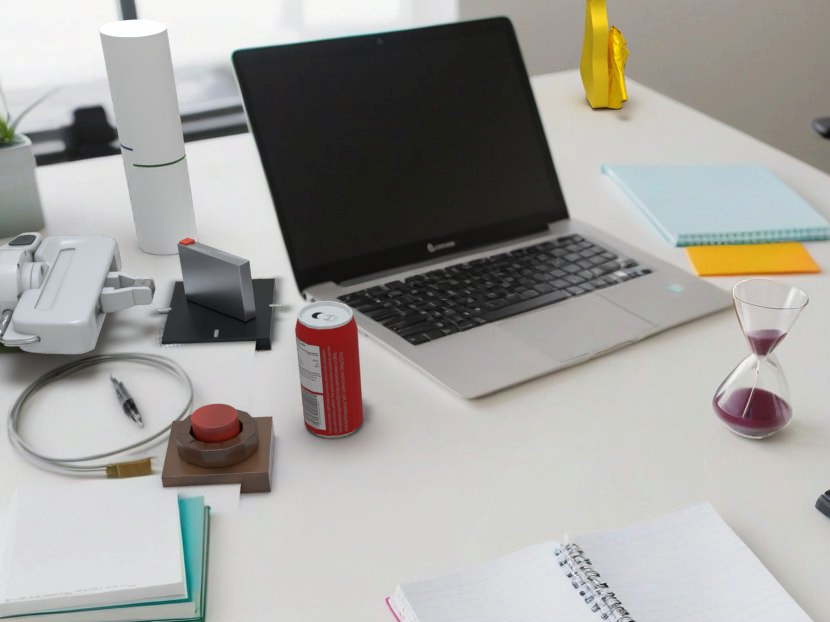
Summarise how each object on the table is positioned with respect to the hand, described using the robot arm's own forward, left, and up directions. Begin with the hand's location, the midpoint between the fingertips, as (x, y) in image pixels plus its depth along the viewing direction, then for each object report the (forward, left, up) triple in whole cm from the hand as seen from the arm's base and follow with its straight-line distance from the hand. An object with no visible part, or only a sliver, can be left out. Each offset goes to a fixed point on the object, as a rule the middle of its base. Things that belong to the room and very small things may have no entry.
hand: (153, 290), depth 119 cm
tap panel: (+6, +4, -6) cm, 9 cm away
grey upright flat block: (+6, +4, -4) cm, 8 cm away
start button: (+8, -24, -2) cm, 26 cm away
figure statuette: (+61, +75, -6) cm, 97 cm away
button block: (+8, -24, -6) cm, 26 cm away
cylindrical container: (-2, +25, -6) cm, 25 cm away
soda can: (+18, -18, -6) cm, 26 cm away
